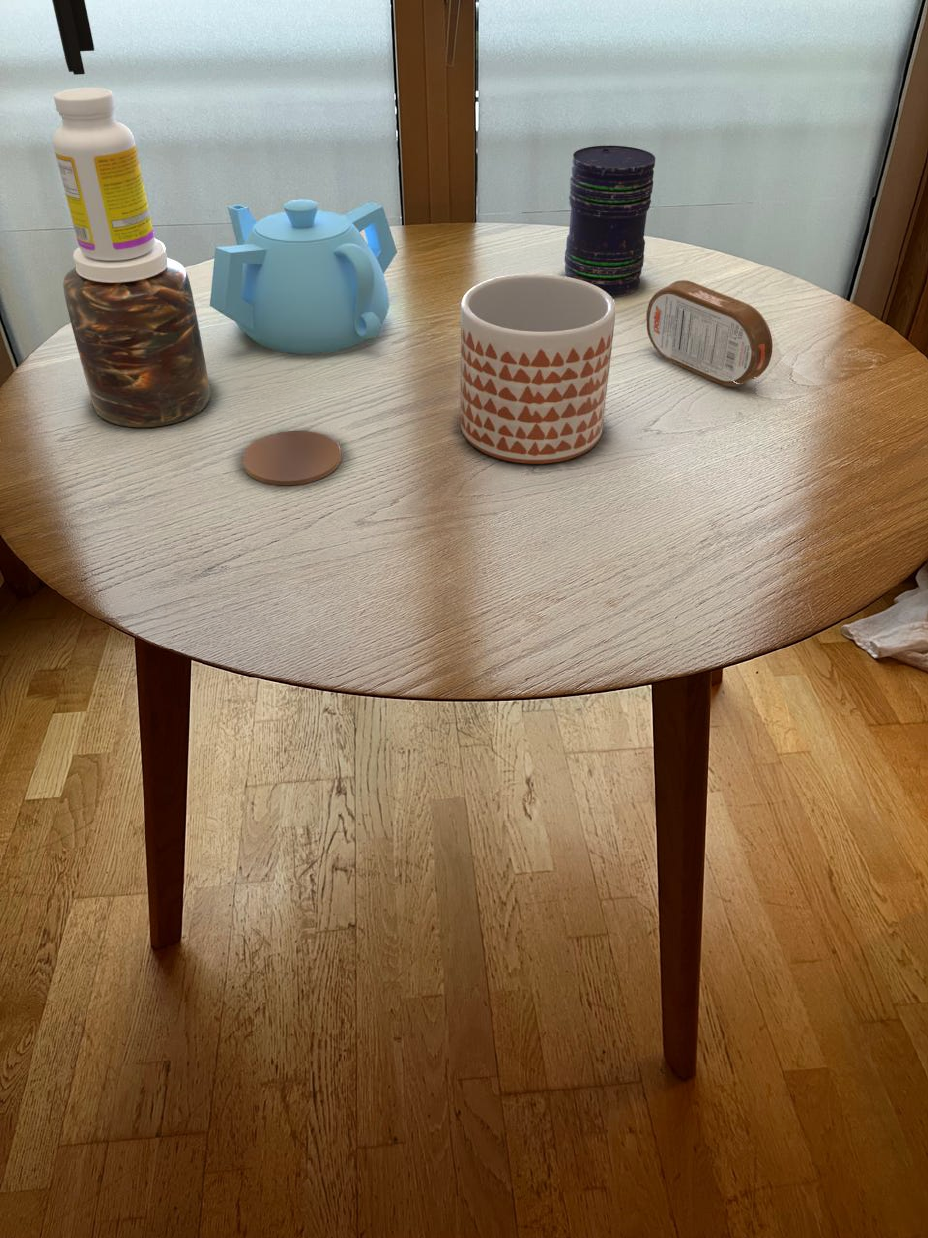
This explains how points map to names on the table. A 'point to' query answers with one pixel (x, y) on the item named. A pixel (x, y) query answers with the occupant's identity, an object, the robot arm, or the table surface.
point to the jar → (138, 338)
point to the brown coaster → (291, 458)
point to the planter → (535, 366)
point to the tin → (709, 333)
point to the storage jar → (609, 216)
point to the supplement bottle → (101, 176)
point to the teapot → (305, 276)
